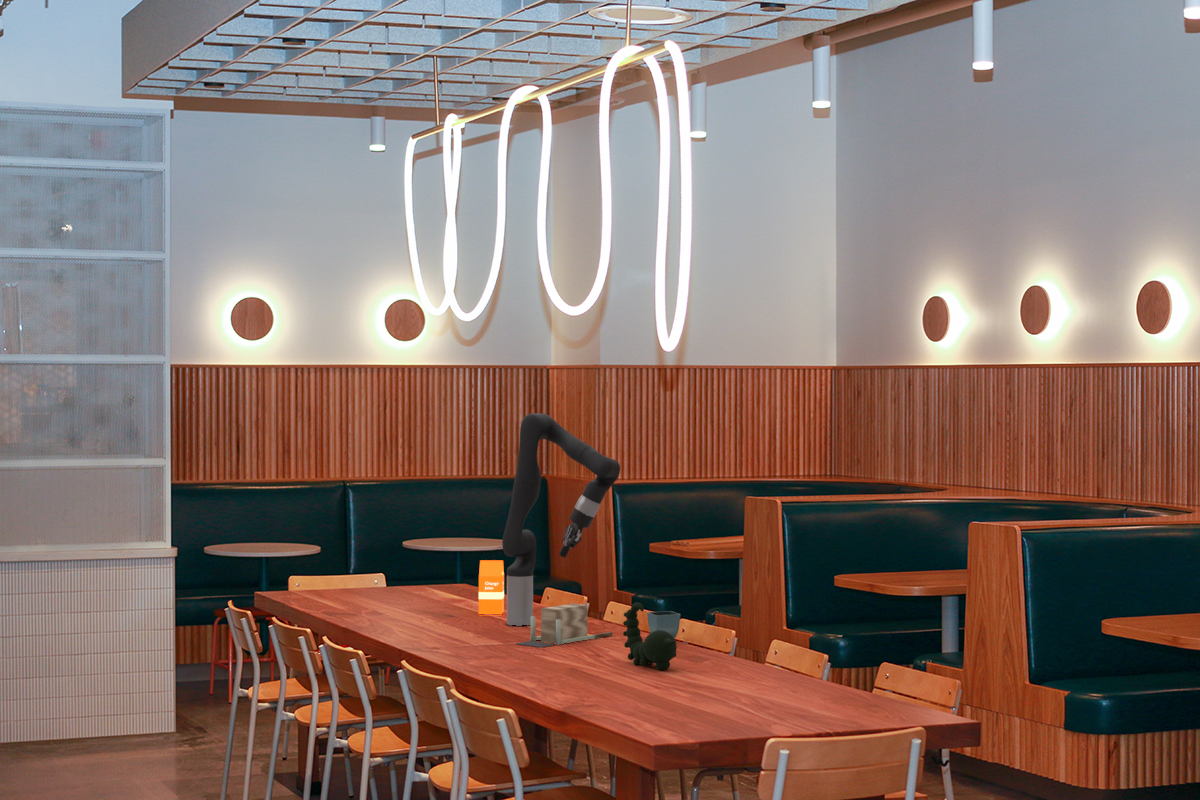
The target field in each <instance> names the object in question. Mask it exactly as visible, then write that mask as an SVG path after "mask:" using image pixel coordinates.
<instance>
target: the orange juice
mask: <svg viewBox="0 0 1200 800" xmlns="http://www.w3.org/2000/svg"><path fill="white" fill-rule="evenodd" d="M504 568H505V567H504V560H496V559H493V560H492V559H491V560H487V559H485V560H483V559H482V560H479V573H478V615H479V614H502V613H503V612H504V613H505V572H504V571H505V570H504ZM504 613H503V614H504Z"/></svg>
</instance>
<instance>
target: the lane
mask: <svg viewBox="0 0 1200 800" xmlns="http://www.w3.org/2000/svg"><path fill="white" fill-rule="evenodd" d="M593 635H595V638H598V639H600V638H599V637H604V638H606V637H605V636H610V637H613V631H612V632H611V631H607V632H600V633H595V634H593Z"/></svg>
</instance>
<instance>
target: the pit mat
mask: <svg viewBox="0 0 1200 800" xmlns="http://www.w3.org/2000/svg"><path fill="white" fill-rule="evenodd" d="M517 644H518V646H524V645H526V646H525V647H531V646H534V648H539V647H543V648H547V647H546V646H549V647H553V646H552V645H555V646H557V645H556V644H551V643H544V642H541V641H531V640H528V641H522V642H516V643H515V645H517Z"/></svg>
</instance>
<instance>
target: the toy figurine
mask: <svg viewBox="0 0 1200 800" xmlns="http://www.w3.org/2000/svg"><path fill="white" fill-rule="evenodd" d="M639 611H641V612H644V605H643V604H642V603H641V602H635V603H632V604H631V606H630V609H627V611H626V612H624V613H623V617H624V618H626V620H624V621H623V623H622V624H623V626H624V627H626V631H623V633H622V635H623V636H625V637H627V640H626V641H625V642H624V648H625V649H626V648H627V649H628V648H629V653H628V654H627V659H628V660H629V661H632V662H633V664H634V665H635V666H639V665H641V666H643V667H647V666H648V665H652V664H655V668H656V669H657V670H659V671H666V670H668V669H669V668H670V666H671V662H670V661H671V660H672V659H674V658H676V657H677V647H678V646H677V643H676V642H677V641H676V638H675V639H674V638H673V636H672V635H671V634H670V633H668V632H666V631H663V630H657V631H654V632H652V633H651V632H650V633H649V634H648V635H647V636H646V638H645V639H644V641H643V638H642V636H641V629H640V627H639V625H640V622H639V621H640V620H639V619H638V612H639Z"/></svg>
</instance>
